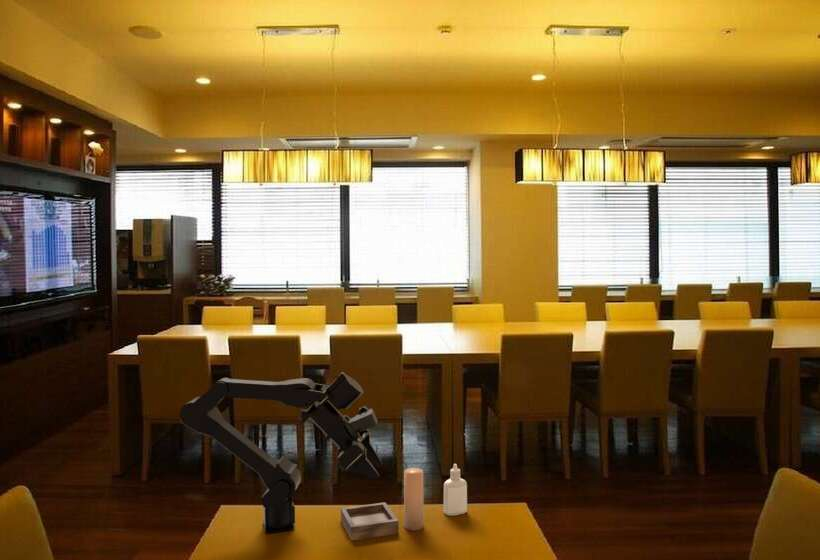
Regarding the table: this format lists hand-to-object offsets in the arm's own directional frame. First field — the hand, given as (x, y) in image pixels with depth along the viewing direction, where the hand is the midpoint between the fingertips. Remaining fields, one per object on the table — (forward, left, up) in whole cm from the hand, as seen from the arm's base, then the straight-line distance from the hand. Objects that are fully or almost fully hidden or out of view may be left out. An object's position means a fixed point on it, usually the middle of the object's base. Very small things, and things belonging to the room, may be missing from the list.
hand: (379, 470), depth 147 cm
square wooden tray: (-2, +1, -13) cm, 13 cm away
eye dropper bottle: (+20, +2, -13) cm, 24 cm away
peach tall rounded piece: (+8, -2, -13) cm, 15 cm away
